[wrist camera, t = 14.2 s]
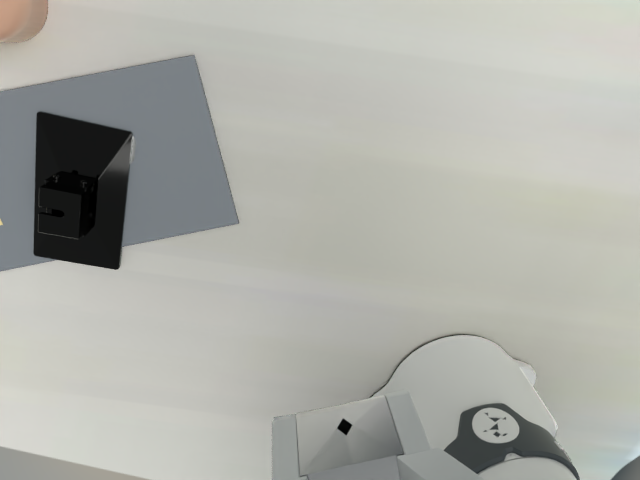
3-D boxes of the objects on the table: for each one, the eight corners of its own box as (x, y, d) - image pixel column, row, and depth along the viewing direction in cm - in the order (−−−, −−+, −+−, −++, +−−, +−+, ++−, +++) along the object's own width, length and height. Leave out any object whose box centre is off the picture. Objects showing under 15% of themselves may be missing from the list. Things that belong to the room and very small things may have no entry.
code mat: (238, 222, 40) (238, 223, 40) (-89, 287, 40) (-92, 289, 39) (194, 55, 35) (193, 55, 34) (-190, 127, 34) (-194, 128, 34)
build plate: (39, 110, 35) (7, 118, 31) (137, 132, 36) (120, 142, 32) (34, 254, 39) (6, 279, 35) (123, 269, 41) (106, 294, 36)
